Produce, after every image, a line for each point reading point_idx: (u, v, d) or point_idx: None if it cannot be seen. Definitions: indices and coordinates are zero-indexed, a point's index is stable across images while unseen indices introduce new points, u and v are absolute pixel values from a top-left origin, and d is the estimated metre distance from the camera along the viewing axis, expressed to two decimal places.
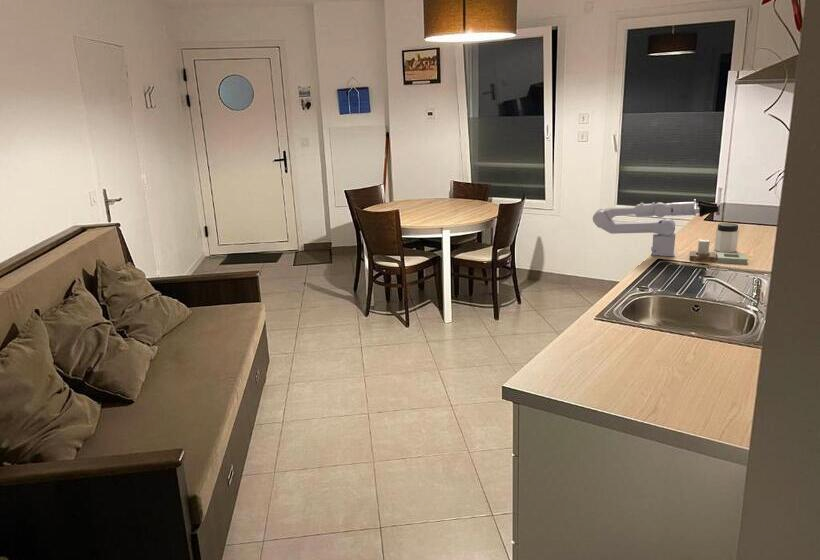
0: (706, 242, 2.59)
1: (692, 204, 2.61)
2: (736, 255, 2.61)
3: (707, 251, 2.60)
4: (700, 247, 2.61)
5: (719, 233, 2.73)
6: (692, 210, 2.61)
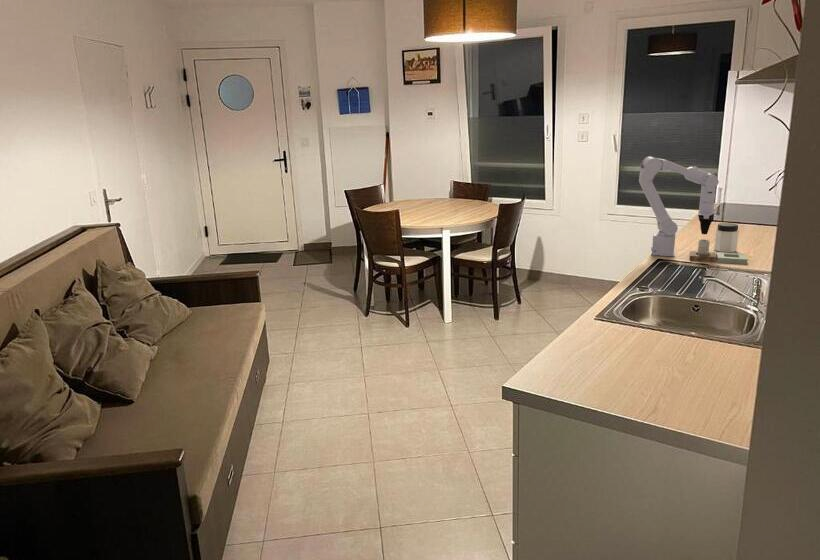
0: (706, 242, 2.59)
1: (711, 211, 2.63)
2: (736, 255, 2.61)
3: (707, 251, 2.60)
4: (700, 247, 2.61)
5: (719, 233, 2.73)
6: (705, 211, 2.63)
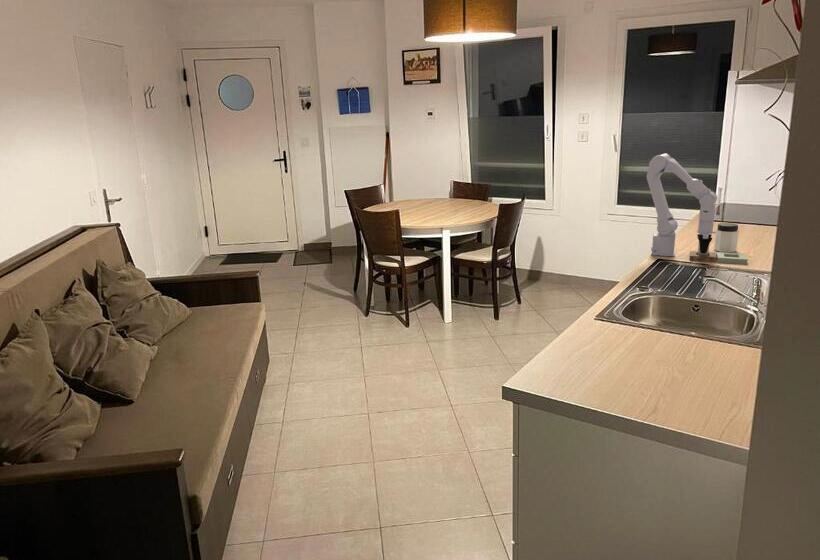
0: None
1: (711, 230, 2.58)
2: (736, 255, 2.61)
3: (707, 251, 2.60)
4: None
5: (719, 233, 2.73)
6: (704, 230, 2.58)
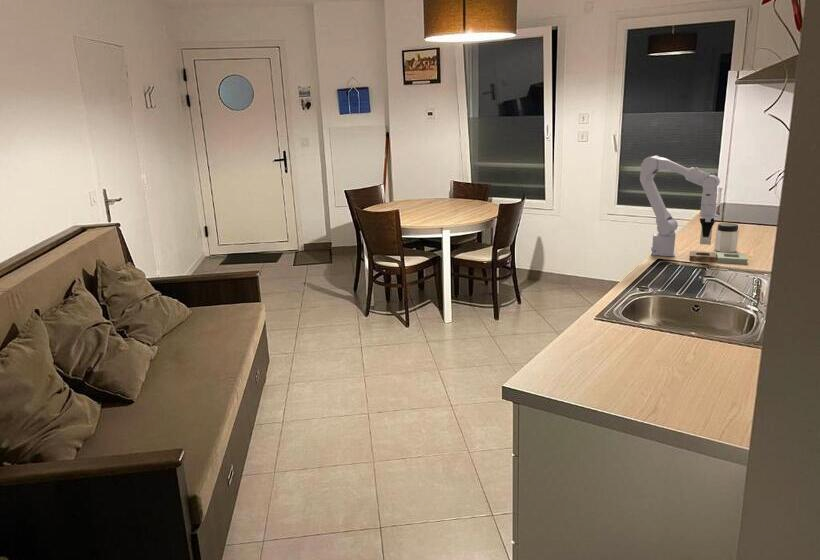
0: None
1: (713, 214, 2.56)
2: (736, 255, 2.61)
3: (710, 236, 2.58)
4: None
5: (719, 233, 2.73)
6: (707, 214, 2.56)
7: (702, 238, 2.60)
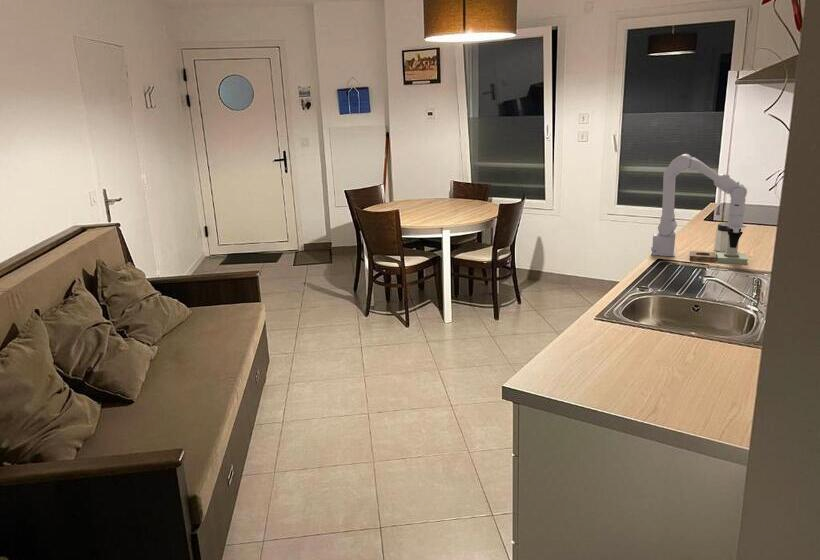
0: None
1: (741, 224, 2.53)
2: None
3: (736, 247, 2.55)
4: (729, 243, 2.56)
5: (719, 233, 2.73)
6: (734, 224, 2.53)
7: (728, 249, 2.57)
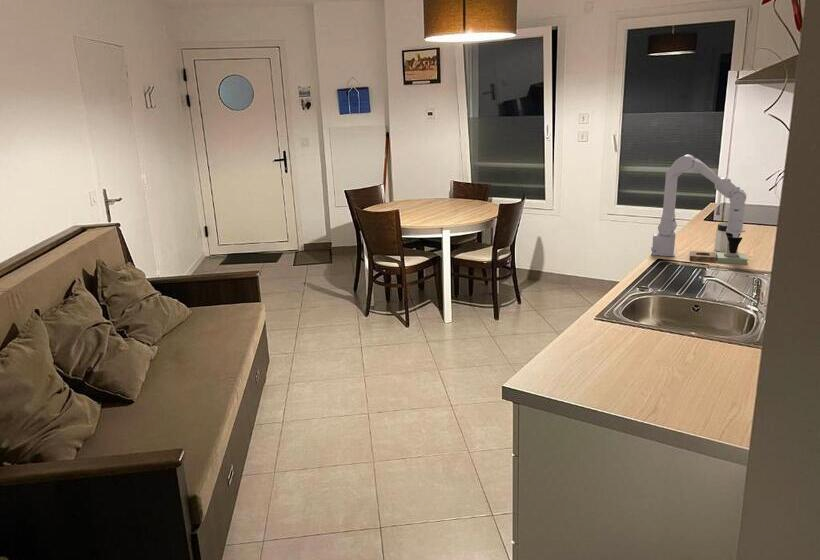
0: None
1: (740, 229, 2.53)
2: None
3: (735, 253, 2.56)
4: (728, 248, 2.57)
5: (719, 233, 2.73)
6: (734, 229, 2.53)
7: (727, 255, 2.57)
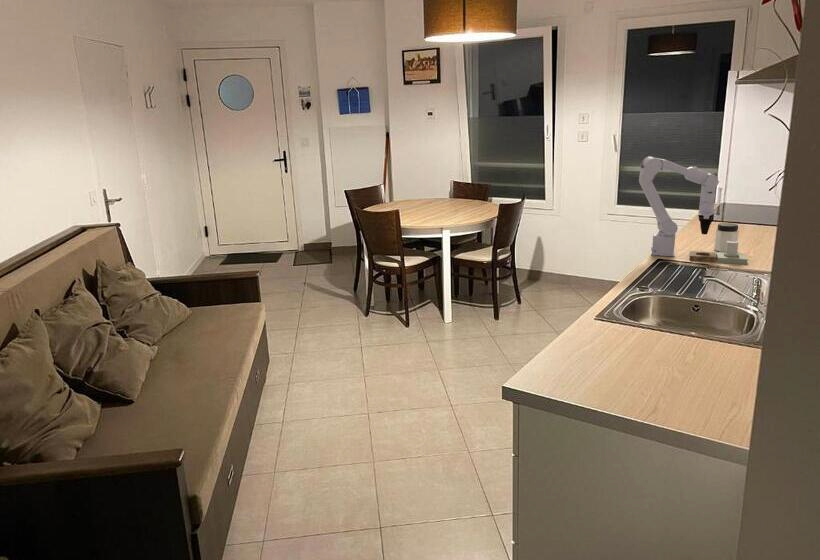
0: (735, 243, 2.55)
1: (711, 211, 2.63)
2: None
3: (735, 253, 2.56)
4: (728, 248, 2.57)
5: (719, 233, 2.73)
6: (705, 211, 2.63)
7: (727, 255, 2.57)
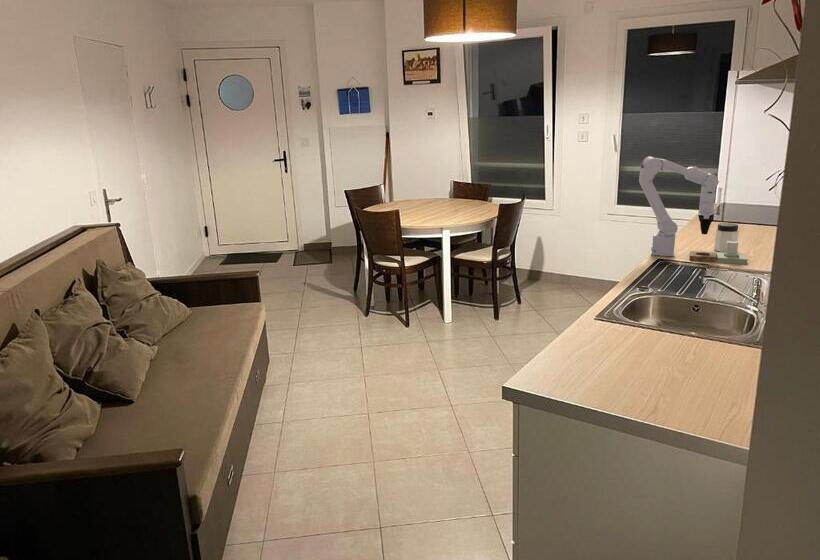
0: (735, 243, 2.55)
1: (711, 211, 2.63)
2: None
3: (735, 253, 2.56)
4: (728, 248, 2.57)
5: (719, 233, 2.73)
6: (705, 211, 2.63)
7: (727, 255, 2.57)
